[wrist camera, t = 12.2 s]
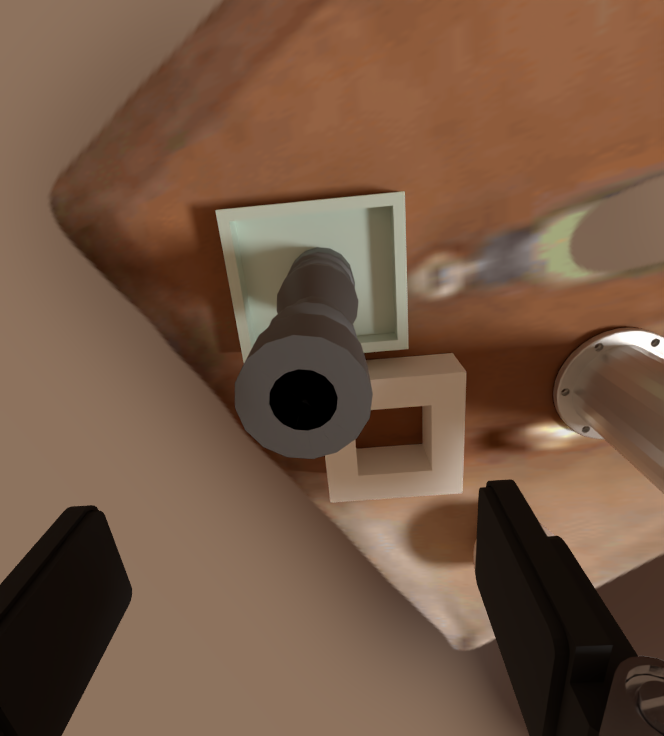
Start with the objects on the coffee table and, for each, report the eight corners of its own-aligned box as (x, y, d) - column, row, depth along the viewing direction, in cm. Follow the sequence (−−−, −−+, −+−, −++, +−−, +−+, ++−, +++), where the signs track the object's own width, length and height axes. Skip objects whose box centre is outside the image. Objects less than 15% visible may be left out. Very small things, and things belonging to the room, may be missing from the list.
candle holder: (315, 232, 39) (286, 295, 16) (367, 275, 40) (410, 390, 17) (275, 285, 41) (198, 411, 18) (326, 324, 42) (317, 487, 19)
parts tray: (399, 191, 38) (404, 191, 35) (403, 338, 43) (408, 349, 41) (223, 208, 39) (215, 210, 36) (249, 352, 44) (243, 362, 41)
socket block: (452, 352, 44) (466, 371, 39) (450, 464, 49) (462, 493, 45) (318, 364, 45) (316, 384, 40) (330, 473, 50) (330, 502, 45)
